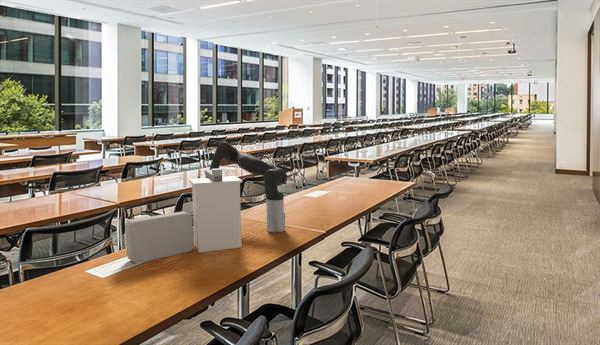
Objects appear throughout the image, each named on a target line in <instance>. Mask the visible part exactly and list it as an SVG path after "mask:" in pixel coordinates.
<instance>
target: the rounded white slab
mask: <svg viewBox="0 0 600 345" xmlns="http://www.w3.org/2000/svg"><path fill="white" fill-rule="evenodd" d="M124 228H125V230H124V231H125V245H126V246H125V247H126V256H127V258H128V260H130V261H131V262H132V263H135V264H138V263H143V262H147V261H152V260H153V261H154V260H157V259H161V258H165V257H170V256H176V255H180V254H184V253H189V252H192V249H194V248H193V247H194V223H193V215H192V214H190V213H188V212H186V211H178V212H177V211H176V212H170V213H165V214H158V215H152V216H146V217H145V216H144V217H140V218H133V219H129V220H127V221H126V223H125V225H124Z"/></svg>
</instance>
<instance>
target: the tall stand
mask: <svg viewBox="0 0 600 345" xmlns="http://www.w3.org/2000/svg"><path fill="white" fill-rule="evenodd" d="M189 183H190V184H191V191H192V192H191V197H192V199H193V202H192V224H193V246H194V247H195V249H196V251H197V252H198V253H207V252H213V251H222V250H229V249H230V250H231V249H240V248H242V247H243V246H242V216H241V214H242V213H241V183H243V179H241V178H239V177H238V176H236V175H235V176H234V175H232V176H231V175H230V176H222V181H221V182H213V181H212V180H211V179H209V178H205V177H202V178H201V177H200V178H198V177H196V178H189Z"/></svg>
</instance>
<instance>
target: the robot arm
mask: <svg viewBox="0 0 600 345" xmlns="http://www.w3.org/2000/svg"><path fill="white" fill-rule="evenodd" d="M222 160H225V161H227V162H229V163H233V164H236V166H238V167H240V169H242V170H244V171H245V172H246V173H247V172H248V173H249V174H251V175H255V176H260V177H261V176H262V177H263V185H264V186H263V187H264V194H265V197H266V199H265V200H266V202H265V203H266V204H265V206H266V231H267V232H268V233H281V232H284V231H285V232H286V213H285V208H284V207H285V206H284V205H285V202H284V201H285V200H284V199H285V198H284V197H285V196H284V193H283V192H280V191H279V190H278V186H282V185H285V184H286V183H287V181H288V175H287V172H286V171H285V170H284V169H283V168H281V167H278V166H274V165H272V164H270V163H267V162H266V161H264V160H261V159H260V158H257V157H256V156H254V155H252V154H249V153H243V152H241V151H240V150H238V149H237V148H236V147H235V146H233V145H232V144H231V143H229V142H227V141H221V142H220V143H219V144H218V145H217V146H216V149H215V152H214V154H213V157H212V160H211V163H210V167H209V169H208V170H212V169H218V168H220V166H221V163H222ZM197 178H201V176H198V177H197ZM204 178H208V177H207V176H206V175H205V177H204ZM190 200H191V202H192V203H193V199H192V196H191V199H190Z"/></svg>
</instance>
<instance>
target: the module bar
mask: <svg viewBox="0 0 600 345" xmlns="http://www.w3.org/2000/svg"><path fill="white" fill-rule="evenodd" d="M204 175H205V177H206V176H207V177H208V178H209V179H211V180H212V181H213V182H221V181H222V177H223V169H222V168H220V167H219V168H218V169H212V170H209V169H204Z"/></svg>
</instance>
